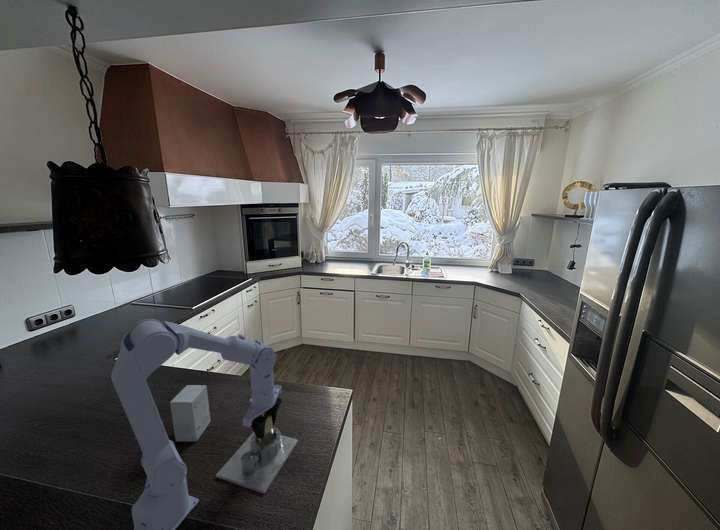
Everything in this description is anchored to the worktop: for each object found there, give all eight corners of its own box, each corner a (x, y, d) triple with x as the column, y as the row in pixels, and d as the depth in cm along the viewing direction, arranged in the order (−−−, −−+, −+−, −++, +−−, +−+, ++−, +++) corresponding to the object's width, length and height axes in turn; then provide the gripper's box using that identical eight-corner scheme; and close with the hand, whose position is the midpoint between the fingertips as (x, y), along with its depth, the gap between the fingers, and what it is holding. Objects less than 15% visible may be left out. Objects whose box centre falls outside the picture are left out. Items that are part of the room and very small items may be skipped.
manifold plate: (264, 493, 68) (263, 477, 67) (216, 477, 72) (214, 461, 71) (297, 442, 83) (297, 427, 82) (256, 430, 87) (255, 416, 86)
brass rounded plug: (267, 443, 76) (265, 424, 75) (253, 440, 78) (251, 420, 77) (276, 431, 81) (274, 412, 79) (263, 428, 82) (261, 409, 81)
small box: (191, 421, 90) (186, 384, 88) (211, 421, 90) (207, 384, 88) (174, 441, 82) (169, 402, 80) (196, 442, 82) (191, 402, 80)
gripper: (266, 369, 84) (268, 409, 87) (230, 400, 70) (235, 447, 73) (287, 373, 82) (289, 414, 85) (255, 406, 68) (258, 454, 71)
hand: (265, 430), depth 79 cm, fingers closed on brass rounded plug, 4 cm apart
